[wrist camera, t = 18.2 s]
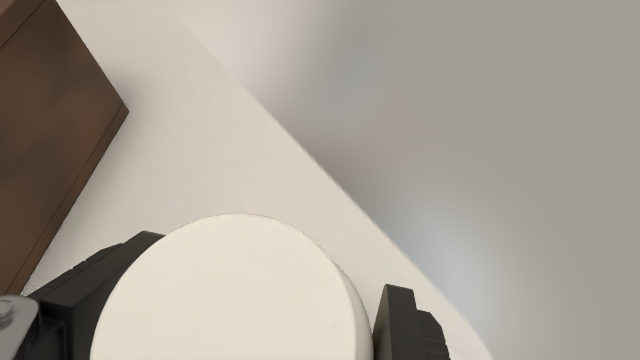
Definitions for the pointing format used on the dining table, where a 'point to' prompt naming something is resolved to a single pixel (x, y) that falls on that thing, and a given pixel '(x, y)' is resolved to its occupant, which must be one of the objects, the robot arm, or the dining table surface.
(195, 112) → the dining table surface
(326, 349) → the pill bottle
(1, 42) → the lid
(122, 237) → the dining table surface
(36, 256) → the chest
